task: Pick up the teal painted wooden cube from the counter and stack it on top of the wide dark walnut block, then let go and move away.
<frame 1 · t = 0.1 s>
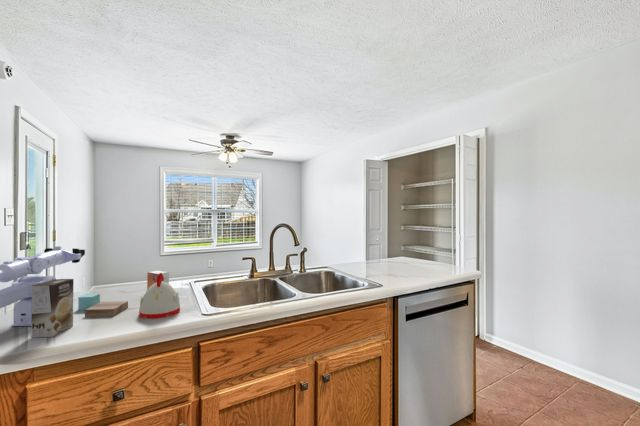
hand: (74, 251, 127), 22 cm above the table, tool horizontal, fingers open, 7 cm apart
small box: (157, 295, 143), on the table
walnut block: (107, 313, 119), on the table
teal cube: (89, 307, 123), on the table
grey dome: (160, 313, 119), on the table
coffee box: (53, 332, 99), on the table
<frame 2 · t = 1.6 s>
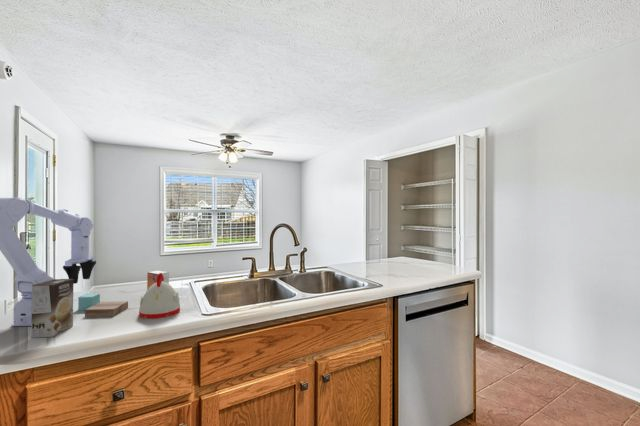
hand: (80, 281, 124), 10 cm above the table, tool pointing down, fingers open, 7 cm apart
nothing on the table moved.
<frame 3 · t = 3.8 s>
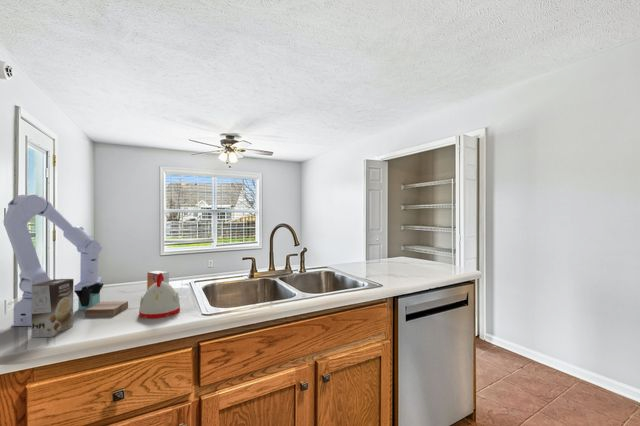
hand: (89, 304, 123), 1 cm above the table, tool pointing down, fingers closed on teal cube, 5 cm apart
teal cube: (89, 307, 123), on the table, touching gripper
everything else where it was.
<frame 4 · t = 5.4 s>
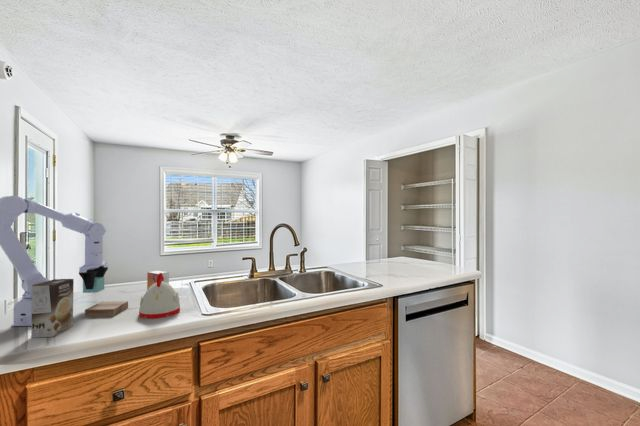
hand: (93, 287, 122), 8 cm above the table, tool pointing down, fingers closed on teal cube, 5 cm apart
teal cube: (93, 291, 122), point 7 cm above the table, touching gripper
everything else where it was.
when the fingers open (5 cm above the table, at t = 7.2 s): teal cube drops 2 cm, resting on walnut block.
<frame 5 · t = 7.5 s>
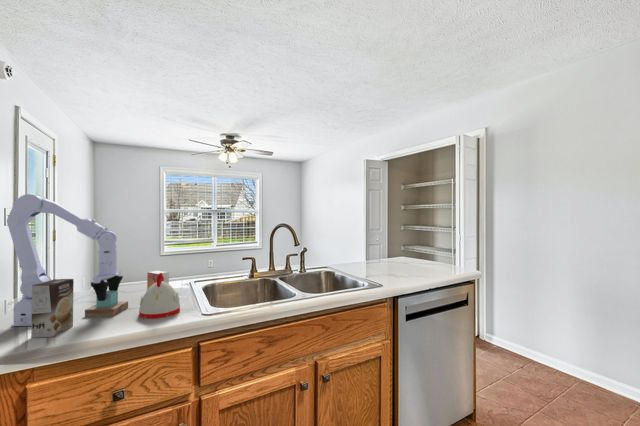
hand: (107, 297, 119), 5 cm above the table, tool pointing down, fingers open, 7 cm apart
walnut block: (107, 313, 119), on the table, touching teal cube
teal cube: (107, 305, 119), point 2 cm above the table, touching walnut block
everything else where it was.
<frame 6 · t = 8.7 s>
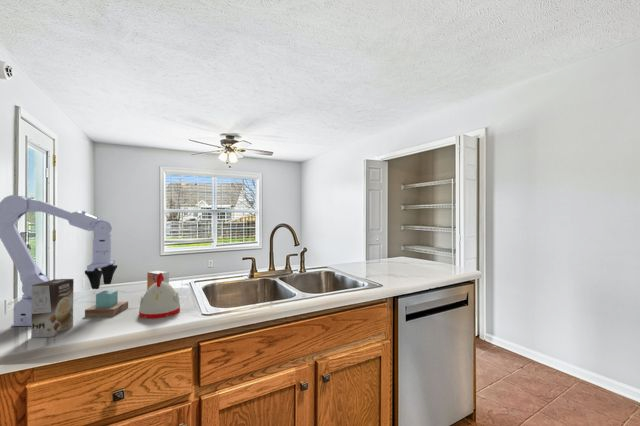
hand: (101, 286, 119), 10 cm above the table, tool pointing down, fingers open, 7 cm apart
nothing on the table moved.
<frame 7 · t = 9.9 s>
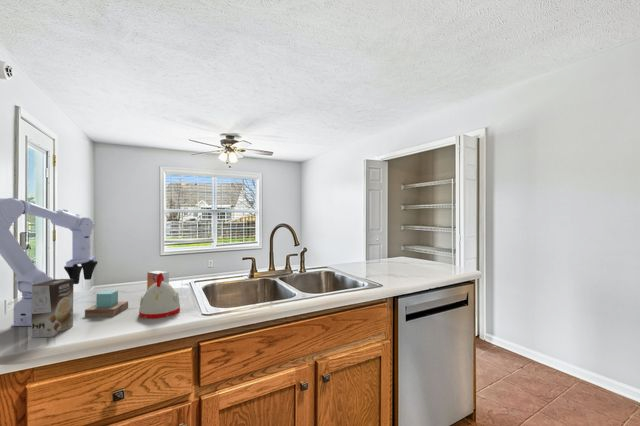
hand: (81, 281, 123), 10 cm above the table, tool pointing down, fingers open, 7 cm apart
walnut block: (107, 313, 119), on the table
teal cube: (107, 305, 119), point 2 cm above the table
everything else where it was.
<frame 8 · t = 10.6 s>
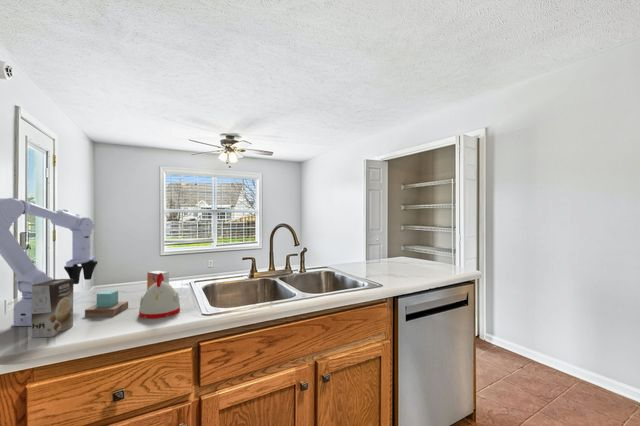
hand: (81, 281, 123), 10 cm above the table, tool pointing down, fingers open, 7 cm apart
walnut block: (107, 313, 119), on the table, touching teal cube
teal cube: (107, 305, 119), point 2 cm above the table, touching walnut block
everything else where it was.
at the end: teal cube 0.4 cm off-centre on the walnut block, point 3.0 cm above the walnut block's base; teal cube tilted 0°; the gripper is holding nothing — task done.
